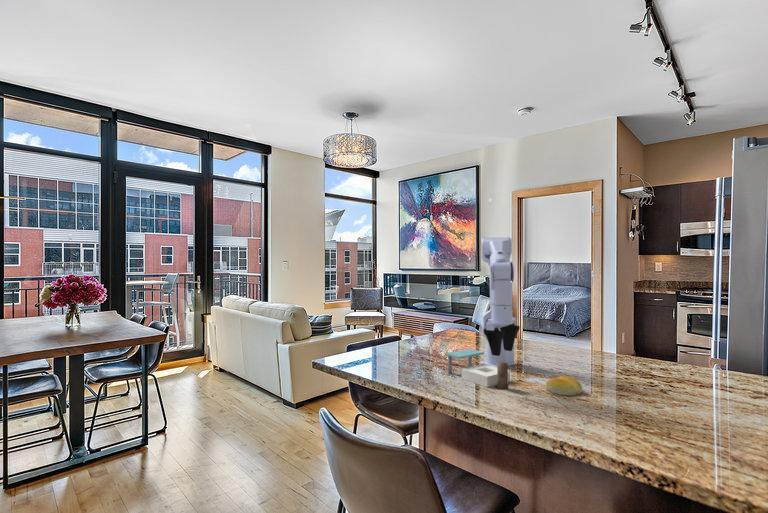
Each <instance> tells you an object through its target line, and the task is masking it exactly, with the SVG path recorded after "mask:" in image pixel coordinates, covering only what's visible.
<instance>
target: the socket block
mask: <svg viewBox="0 0 768 513" xmlns="http://www.w3.org/2000/svg"><path fill="white" fill-rule="evenodd" d="M461 380H465V381H467V382H471V383H473V384H477V385H479V386H483V387H485V388H490V387H493V386H497V367H493V366H490V365H486V364H482V363H481V364H476V365H472V367H468V366H467V367H464V368H461ZM509 382H511V371H510V370H508V383H509Z"/></svg>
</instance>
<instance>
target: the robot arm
mask: <svg viewBox="0 0 768 513" xmlns="http://www.w3.org/2000/svg"><path fill="white" fill-rule="evenodd" d="M512 241H513V240H512V238H511V237H510V236H505V237H482V238H481V259H482V261H483V262H484V263H487V265H488V268H489V271H488V275H489V309H488V311H486V312H485V313H483V315H482V318H481V319H482V320H481V336H482V337H483V338H485V359H486V360H484V361H481V362H480V363H481V365H482V364H486V365H490V366H493V367H497V363H498V362H506V363H508V367H509V366H514V365H517V362H515V346H514V344H515V339H516V336H517V334H518V332H519V330H520V329H521V328H520V325H517V318H516V317H514V316H513V283H514V280H515V266H514V262H513V261H511V260H510V259H511V255H512V253H513V242H512Z"/></svg>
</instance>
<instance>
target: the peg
mask: <svg viewBox="0 0 768 513" xmlns="http://www.w3.org/2000/svg"><path fill="white" fill-rule="evenodd" d="M508 367H509V366H508V363H506V362H498V363H497V385H496V386H497V389H498V390H504V391H507V390H508V389H509V382H508V371H509V368H508Z"/></svg>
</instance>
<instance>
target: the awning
mask: <svg viewBox="0 0 768 513" xmlns="http://www.w3.org/2000/svg"><path fill="white" fill-rule="evenodd" d="M484 354H485V352H484V351H480V350H476V349H472V348H468V349H467V348H466V349H463V350H455V351H451V352H446V353H445V356H447V374H448V375H452V373H453V358H455V359H457V360H458V359H459V360H461V359H466V358H467V368H468V367H472V366H473V363H472V362H473V361H472V360H473V359H472V357H476V356H481V355H482V356H483V355H484Z"/></svg>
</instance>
